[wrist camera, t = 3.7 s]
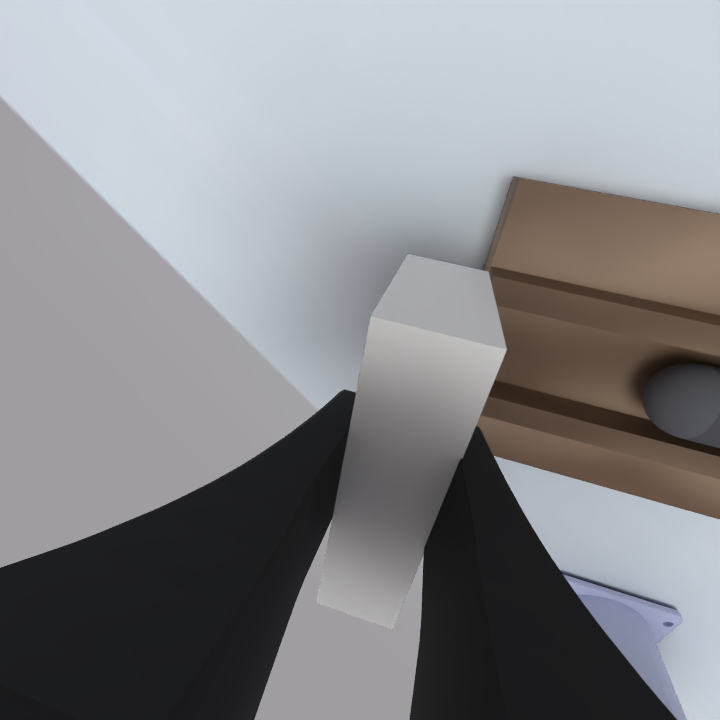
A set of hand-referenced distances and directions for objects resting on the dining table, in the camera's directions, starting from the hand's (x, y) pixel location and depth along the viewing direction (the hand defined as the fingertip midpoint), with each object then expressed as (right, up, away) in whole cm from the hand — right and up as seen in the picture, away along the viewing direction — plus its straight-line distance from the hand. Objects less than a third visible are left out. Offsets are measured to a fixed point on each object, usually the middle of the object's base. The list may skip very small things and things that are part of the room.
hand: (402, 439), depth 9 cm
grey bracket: (+1, +1, +3) cm, 3 cm away
